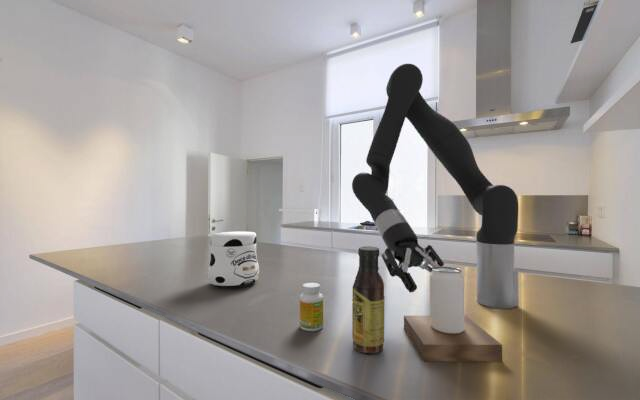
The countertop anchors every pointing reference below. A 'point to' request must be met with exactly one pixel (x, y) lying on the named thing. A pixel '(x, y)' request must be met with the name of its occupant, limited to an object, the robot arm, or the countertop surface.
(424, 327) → the plinth
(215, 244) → the milk container
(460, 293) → the can
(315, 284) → the supplement bottle
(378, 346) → the sauce bottle
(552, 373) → the countertop surface
